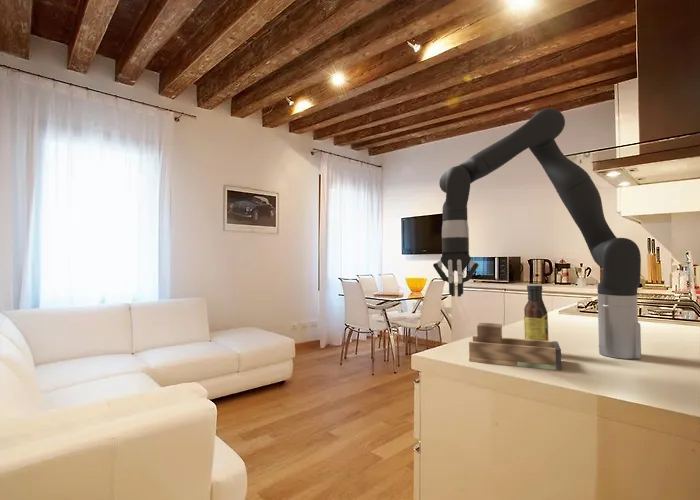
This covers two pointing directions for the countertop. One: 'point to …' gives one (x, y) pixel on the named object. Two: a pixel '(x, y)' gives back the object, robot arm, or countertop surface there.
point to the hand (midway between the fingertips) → (456, 296)
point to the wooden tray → (517, 353)
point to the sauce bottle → (535, 315)
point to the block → (489, 333)
